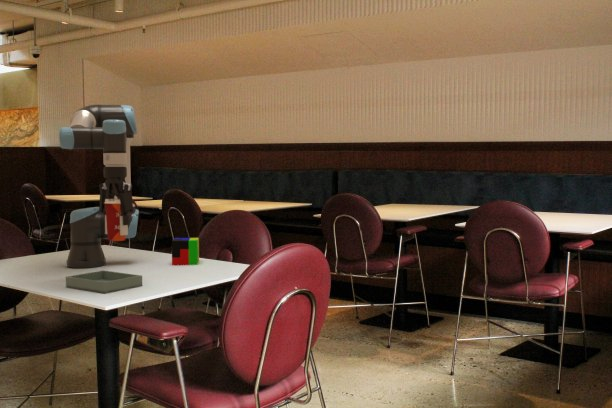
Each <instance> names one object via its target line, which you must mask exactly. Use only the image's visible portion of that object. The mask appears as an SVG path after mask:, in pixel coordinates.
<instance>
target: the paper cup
mask: <svg viewBox="0 0 612 408" xmlns="http://www.w3.org/2000/svg"><path fill="white" fill-rule="evenodd" d="M104 203H105V208H106V221H107V233H108V239H107V240H108V241H109V242H122V241H123V242H124V241H126V238H125V236H126V235H120V214H121V210H120V199H117V198H115V199H105V202H104Z"/></svg>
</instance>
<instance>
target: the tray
mask: <svg viewBox="0 0 612 408" xmlns="http://www.w3.org/2000/svg"><path fill="white" fill-rule="evenodd" d="M138 287H143V275H142V274H141V275H140V274H135V273H134V274H131V273H127V272H126V273H125V272H119V271H118V272H117V271H109V270H99V271H91V272H86V273H81V274H73V275H69V276H65V288H68V289H69V288H70V289H75V290H82V291H88V292H94V293H100V294H110V293H114V292H119V291H124V290H129V289H134V288H138Z"/></svg>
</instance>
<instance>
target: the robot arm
mask: <svg viewBox="0 0 612 408" xmlns="http://www.w3.org/2000/svg"><path fill="white" fill-rule="evenodd" d="M69 124H70V126H62V127H60V128H59V133H58V140H59V146H60V148H61V149H65V150H89V149H91V150H103V151H102V152H103V165H104V167H103V178H104V179H105V182H104V183H99V184H98V187H99V206H95V207H86V208H79V209H75V210H72V211H71V213H70V219H69V224H70V248H69V252H68V254H67V255H68V257H67V259H66V267H68V268H71V269H72V268H73V269H75V268H76V269H81V268H82V269H83V268H84V269H85V268H87V269H88V268H97V267H103V266H105V265H106V264H107V263H106V262H107V260H106V259H107V258H106V256H105V254H104V251H103V248H102V240H108V233H107V221H106V208H105V203H104V202H105V199H115V198H117V199H120V210H121V214H120V235H126V236H125V239H133V238H135V237H136V236H137V231H138V229H137V228H138V223H139V222H138V221H139V214H140V211H139V209H137V208H136V205H135V203H133V191H132V190H133V184H132V182H131V181H132V180H131V142H132V141H133V140H134V137H135V135H137V134H138V130H137V121H136V115H135V109H134V107H133V106H131V105H127V104H90V105H86V106H83V107H80V108H78V109H77V110H75V111H74V112H73V113H72V114H71V116H70V120H69Z"/></svg>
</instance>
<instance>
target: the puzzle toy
mask: <svg viewBox="0 0 612 408" xmlns="http://www.w3.org/2000/svg"><path fill="white" fill-rule="evenodd" d="M199 241H200V238H199V237H174V238H173V239H172V240H171V265H174V266H196V265H198V264H199V262H200V242H199Z"/></svg>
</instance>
